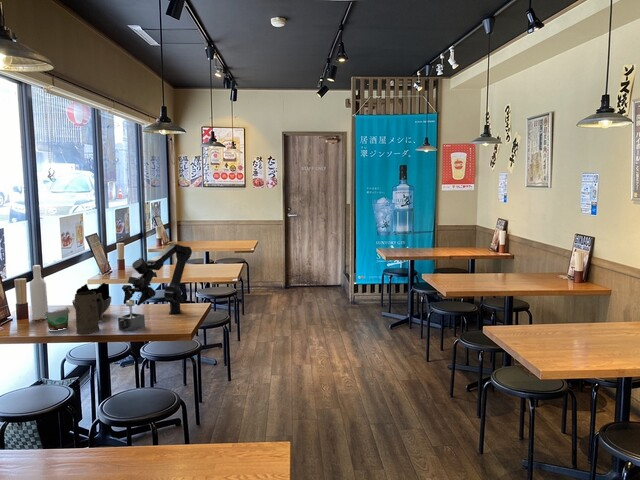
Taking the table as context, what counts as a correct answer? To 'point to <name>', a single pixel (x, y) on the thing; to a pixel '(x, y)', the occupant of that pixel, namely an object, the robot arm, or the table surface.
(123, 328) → the press body
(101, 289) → the coal bowl
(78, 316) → the beer stein
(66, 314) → the food container
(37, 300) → the bottle
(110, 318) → the table surface
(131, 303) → the plunger
